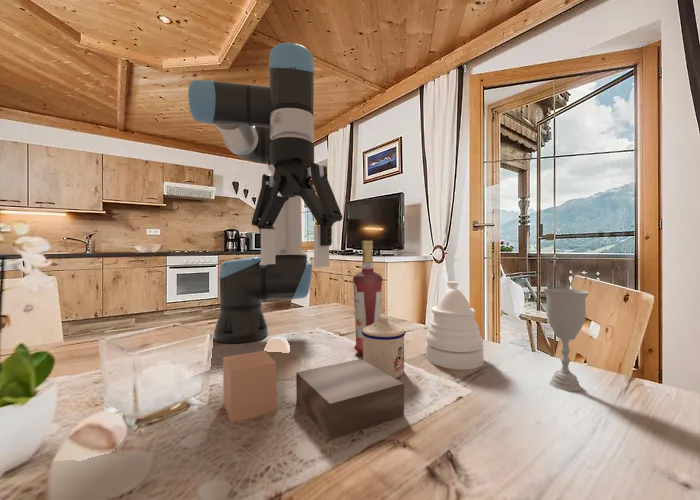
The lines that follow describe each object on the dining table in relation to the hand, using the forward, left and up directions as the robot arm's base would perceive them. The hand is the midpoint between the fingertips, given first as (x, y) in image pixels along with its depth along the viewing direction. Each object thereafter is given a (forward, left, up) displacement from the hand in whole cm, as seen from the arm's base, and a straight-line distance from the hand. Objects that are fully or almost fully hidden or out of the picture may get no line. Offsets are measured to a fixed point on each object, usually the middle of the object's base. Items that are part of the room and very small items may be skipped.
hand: (293, 265), depth 56 cm
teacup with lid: (-3, +22, -24) cm, 32 cm away
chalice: (+21, +47, -24) cm, 56 cm away
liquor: (-14, +25, -24) cm, 37 cm away
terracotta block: (-1, -7, -24) cm, 25 cm away
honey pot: (0, +40, -24) cm, 46 cm away
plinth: (+7, +7, -23) cm, 25 cm away
